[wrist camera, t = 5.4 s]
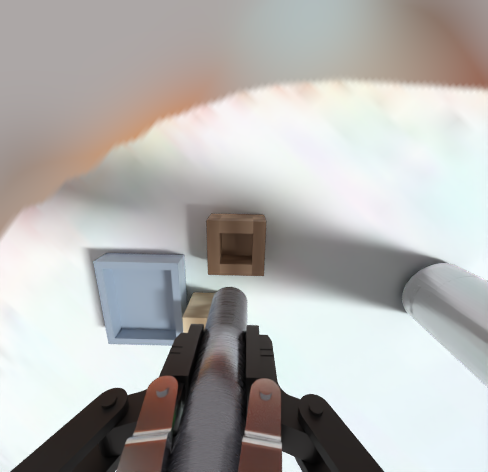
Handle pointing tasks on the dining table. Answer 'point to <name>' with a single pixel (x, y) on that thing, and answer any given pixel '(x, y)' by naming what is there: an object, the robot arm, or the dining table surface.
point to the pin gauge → (216, 392)
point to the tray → (142, 297)
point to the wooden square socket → (236, 244)
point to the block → (197, 310)
